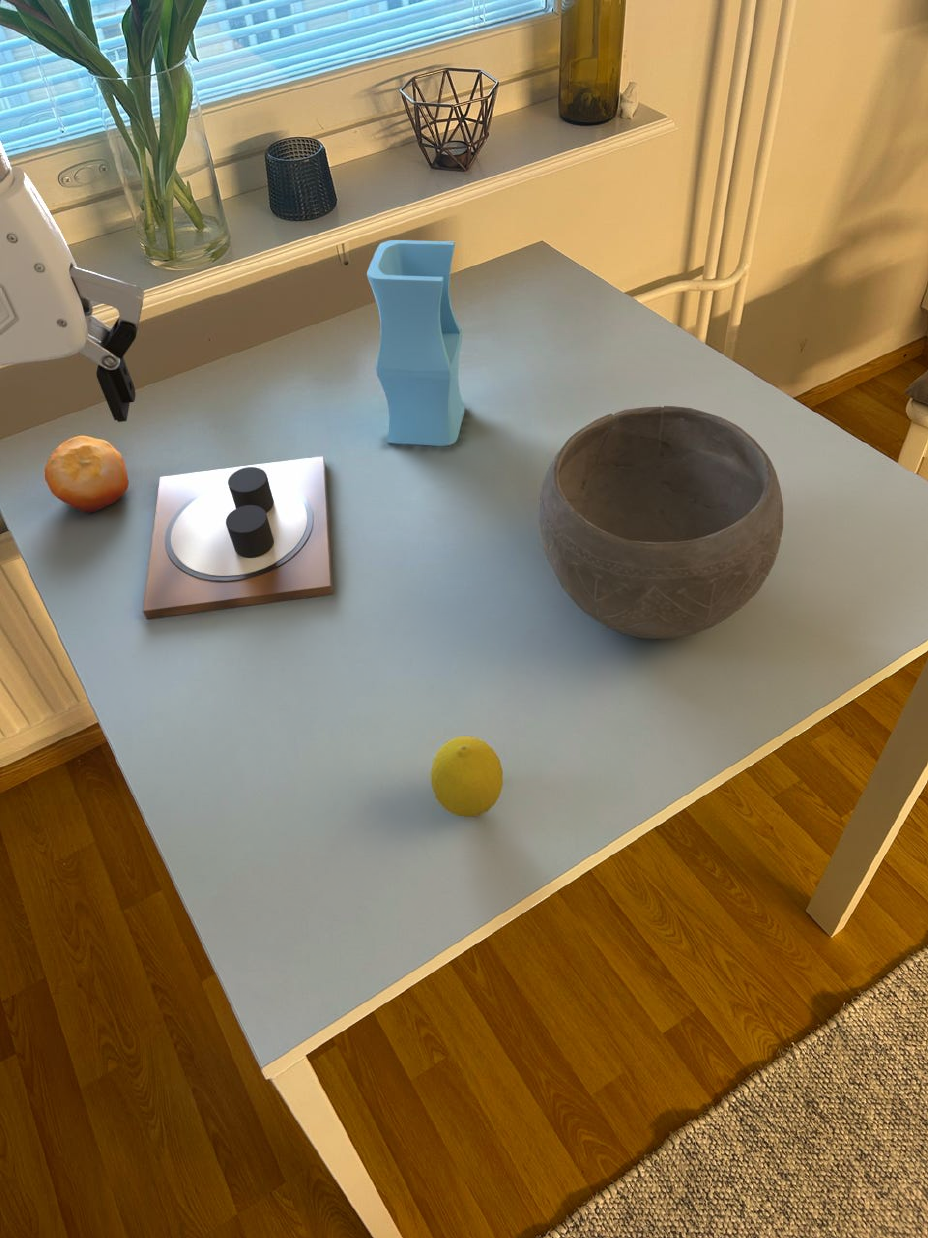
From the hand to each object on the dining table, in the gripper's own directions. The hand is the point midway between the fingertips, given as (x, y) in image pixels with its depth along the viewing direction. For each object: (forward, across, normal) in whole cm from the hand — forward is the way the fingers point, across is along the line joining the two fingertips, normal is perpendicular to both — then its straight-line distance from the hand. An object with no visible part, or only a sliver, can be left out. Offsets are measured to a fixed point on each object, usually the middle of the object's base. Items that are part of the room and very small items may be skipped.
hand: (53, 418), depth 64 cm
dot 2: (+27, +8, +14) cm, 31 cm away
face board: (+28, +6, +17) cm, 34 cm away
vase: (+28, +27, +32) cm, 51 cm away
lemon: (+28, +25, -18) cm, 42 cm away
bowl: (+28, +45, +2) cm, 53 cm away
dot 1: (+27, +8, +20) cm, 34 cm away
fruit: (+28, -10, +26) cm, 40 cm away
